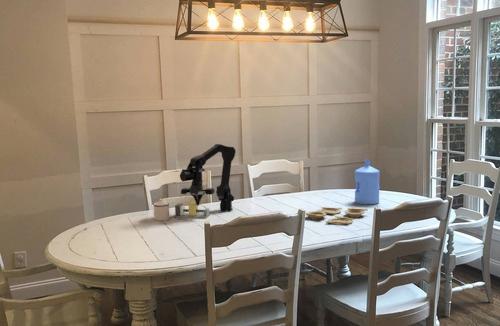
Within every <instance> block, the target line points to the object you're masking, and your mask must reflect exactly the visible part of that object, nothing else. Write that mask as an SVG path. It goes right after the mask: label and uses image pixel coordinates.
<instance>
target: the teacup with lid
mask: <svg viewBox="0 0 500 326" xmlns="http://www.w3.org/2000/svg"><path fill="white" fill-rule="evenodd" d="M153 217H154V220H155V221H158V222H159V221H162V222H163V221H167V220H169V219H170V203H169V201H165V200H164V199H163V198H160V199H159V200H158V201H157V202H154V203H153Z"/></svg>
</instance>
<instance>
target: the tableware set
mask: <svg viewBox="0 0 500 326" xmlns="http://www.w3.org/2000/svg"><path fill="white" fill-rule="evenodd" d="M342 209H343V207H327V206H321V208H320V209H319V208H318V209H317V210H316V211H308V212H305V213H306V215H305V216H307V217H309V218H310V220H322V219H323V218H324V217H326V216H327V215H335V216H334V218H333V217H332V218H329V219H327V220H326V221H325V223H328V224H331V225H338V226H343V225H350V224H352V223H353V221H354V218H360V217H362V215H363V214H365V212H366V211H367V212H368V210H369V209H368V208H356V207H355V208H354V207H347V208H346V209H345V210H344V211H343V212H344V213H345V214H347V215H348V217H347V216H339V215H338V214H340V213H341V212H342V211H341V210H342Z"/></svg>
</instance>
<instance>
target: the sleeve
mask: <svg viewBox="0 0 500 326" xmlns="http://www.w3.org/2000/svg"><path fill="white" fill-rule="evenodd" d="M188 209H189V212H188V213H189V216H196V215H197V214H199V212H196V210H199V206H197V204H196V201H191V202H189V203H188Z"/></svg>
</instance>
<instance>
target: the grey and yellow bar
mask: <svg viewBox="0 0 500 326" xmlns="http://www.w3.org/2000/svg"><path fill="white" fill-rule="evenodd" d="M174 212H175V214H174V215H175V216H174V218H178V219H203V220H204V219H208V217H210V216H211V214H210V208H208V207H207V208H204V209H198V210H196V212H198V214H197V215H196V216H189V208H187V209H186V204H185V205H184V203H181V202H180V203H177V204H175V205H174Z"/></svg>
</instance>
